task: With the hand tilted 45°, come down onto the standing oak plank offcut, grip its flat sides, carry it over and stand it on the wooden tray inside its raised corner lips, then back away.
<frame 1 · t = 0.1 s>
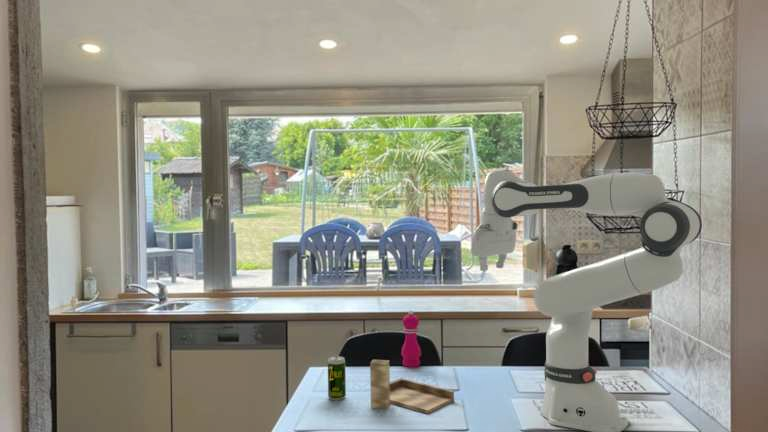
hand: (491, 269, 169), 39 cm above the table, tool pointing down, fingers open, 8 cm apart
wooden tray: (413, 400, 167), on the table
plank offcut: (380, 405, 163), on the table
pepper mill: (411, 365, 205), on the table
beer can: (337, 398, 171), on the table
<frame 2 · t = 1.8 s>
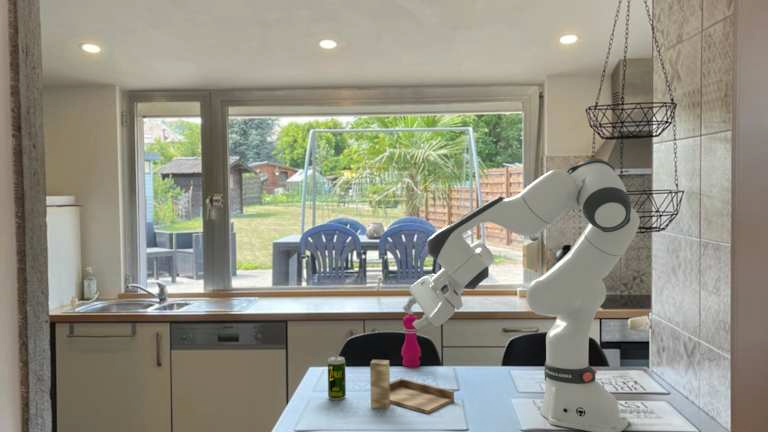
hand: (409, 318, 161), 26 cm above the table, tool tilted 50°, fingers open, 8 cm apart
nothing on the table moved.
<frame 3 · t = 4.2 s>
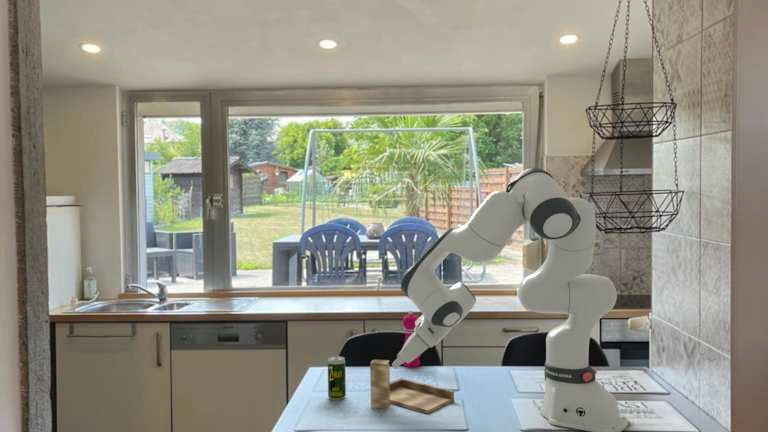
hand: (396, 362, 161), 13 cm above the table, tool tilted 45°, fingers open, 8 cm apart
nothing on the table moved.
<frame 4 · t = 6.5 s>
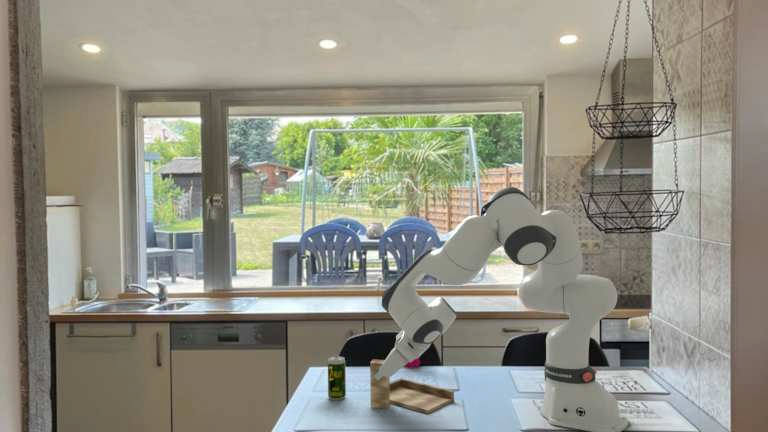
hand: (377, 375, 163), 9 cm above the table, tool tilted 45°, fingers closed on plank offcut, 3 cm apart
plank offcut: (380, 405, 163), on the table, touching gripper
everything else where it was.
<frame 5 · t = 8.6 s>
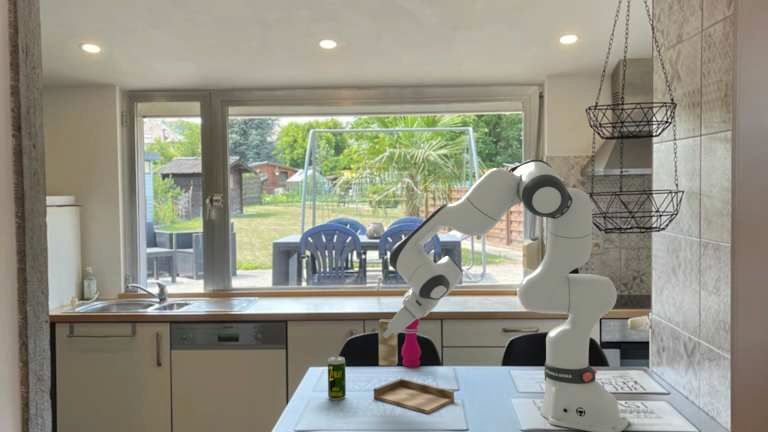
hand: (386, 334, 166), 20 cm above the table, tool tilted 45°, fingers closed on plank offcut, 3 cm apart
plank offcut: (388, 363, 166), point 11 cm above the table, touching gripper
everything else where it was.
when the fingers open (11 cm above the table, at t = 11.2 s): plank offcut stays where it is, resting on wooden tray.
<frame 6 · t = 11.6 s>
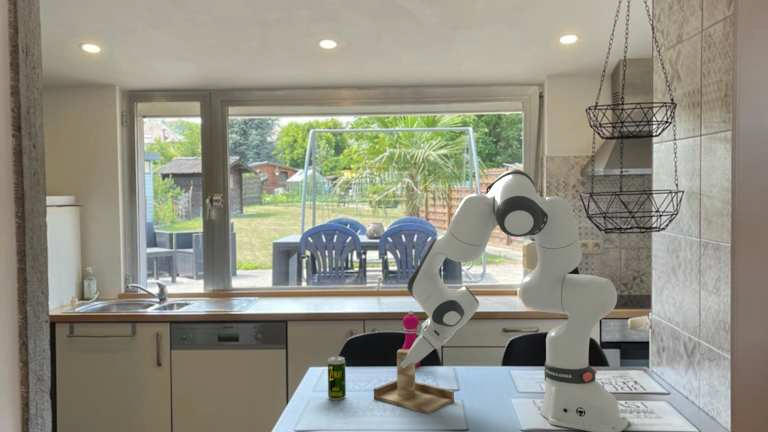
hand: (404, 362, 171), 11 cm above the table, tool tilted 45°, fingers open, 7 cm apart
plank offcut: (406, 393, 171), point 1 cm above the table, touching wooden tray
everything else where it was.
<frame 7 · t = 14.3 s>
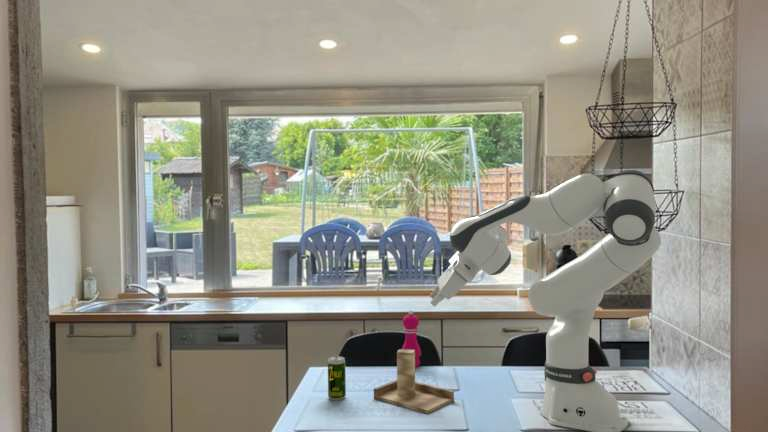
hand: (431, 301, 167), 30 cm above the table, tool tilted 40°, fingers open, 8 cm apart
nothing on the table moved.
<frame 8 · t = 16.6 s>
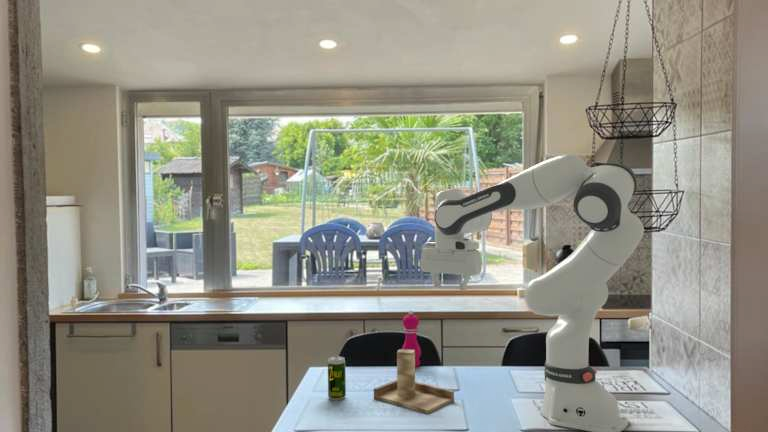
hand: (450, 288, 169), 33 cm above the table, tool pointing down, fingers open, 8 cm apart
nothing on the table moved.
at the end: plank offcut inside the target area (4.2 cm from its centre), point 1.0 cm above the table; plank offcut tilted 0°; the gripper is holding nothing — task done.
